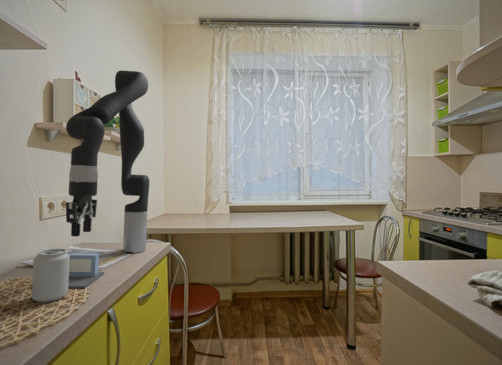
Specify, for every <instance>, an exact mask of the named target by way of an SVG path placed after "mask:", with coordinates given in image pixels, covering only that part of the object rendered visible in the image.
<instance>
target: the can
mask: <svg viewBox="0 0 502 365" xmlns="http://www.w3.org/2000/svg"><path fill="white" fill-rule="evenodd" d="M67 252H68V249H66V248H49V249H43V250H39V251H37V253H36V256H35V257H34V258H33V261H32V262H33V263H32V285H31V298H32V300H34V301H36V302H37V303H50V302H55V301H58V300H61V299H63V298H64V297H65V296H66V295H67V294H68V293H69V288H68V282H69V259H70V255H69V253H67Z"/></svg>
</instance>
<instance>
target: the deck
mask: <svg viewBox="0 0 502 365" xmlns="http://www.w3.org/2000/svg"><path fill="white" fill-rule="evenodd" d="M68 254H69V255H70V259H69V277H95V276H96V275H98V272H100V270H99V266H100V253H95V252H94V253H92V252H91V253H89V252H88V253H84V252H83V253H82V252H81V253H80V252H79V253H77V252H75V253H72V252H70V253H68Z"/></svg>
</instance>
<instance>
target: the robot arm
mask: <svg viewBox="0 0 502 365" xmlns="http://www.w3.org/2000/svg"><path fill="white" fill-rule="evenodd" d="M114 87H115V91H112V92H110V93H108V94H105V95H104V96H102V97H100V98H99V99H97V101H95V102H94V103H93V104H92V105H91V106H89V107H88V108H85V109H84V110H81V111H79V112H77V113H76V114H74V115H72V116H71V117H70V118H69V119H68V121H67V122H66V126H65V129H66V130H65V131H66V133H67V135H68V136H70V137H71V138H72V139H75V140H82V143H81V144H80V145H78V146H74V147H73V148H72V149H71V154H70V156H71V157H70V167H69V174H68V175H69V177H68V195H69V196H71V197H73V198H72V202H71V201H69V202H68V201H67V202H66V203H65V213H66V214H65V218H66V223H69V224H71V226H70V228H71V229H70V235H71V237H79V236H81V222H83V223H82V232H83V233H90V232H92V223H93V222H92V221H93V220H94V219H93V218H96V216H97V206H98V205H97V204H98V200H97V199H93V197H95V196H97V194H98V176H99V174H98V173H99V171H98V154H99V151H100V150H101V145H102V143H103V139H104V137H105V125H107V124H109V123H110V122H111V121H112V120H113V119H114V118H115V117H116V116H117V115H118V119H119V121H118V122H119V140H120V151H121V152H120V153H121V176H120V177H121V182H120V184H121V185H120V186H121V192H122V194H123V195H125V196H131V197H132V196H133V197H134V196H135V197H138V199H137V200H135V201H133V202H130V203H127V204H125V205H124V216H123V218H124V219H123V237H122V238H123V242H122V252H123V251H125V252H124V253H126V252H133V253H132V254H136V253H143V252H145V251H146V250H147V230H148V229H147V228H148V206H149V205H148V204H149V191H150V178H149V176H148V175H146V174H132V168H133V165H134V164H135V161H136V159H137V158H138V156H140V153H141V152H142V151H143V149H144V147H145V128H144V127H143V125H142V122H141V121H140V119H139V117H138V116H137V115H136V113H135V111H134V108H133V105H132V103H133V102H135V101H136V100H138V99H139V98H142V97H144V96H145V95H146V94H147V92H148V90H149V79H148V78H147V76H146V74H144V73H143V72H141V71H137V70H117V72H116V73H115V77H114ZM82 219H83V221H82Z"/></svg>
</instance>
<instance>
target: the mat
mask: <svg viewBox="0 0 502 365" xmlns="http://www.w3.org/2000/svg"><path fill="white" fill-rule="evenodd" d="M104 274H105V272H104V271H99V272H98V275H96V276H95V277H69V282H68V289H87V288H88V287H89V286H90V285H92V284H93V283H95V281H97V280H98V279H99V278H101V277H102V276H103V275H104Z"/></svg>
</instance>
